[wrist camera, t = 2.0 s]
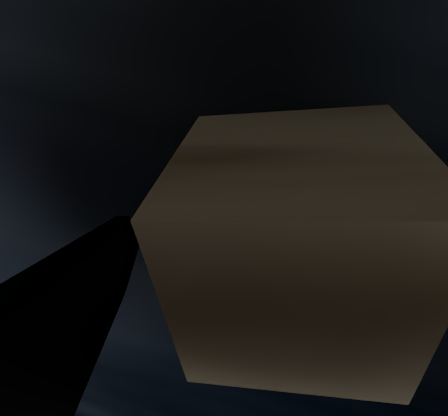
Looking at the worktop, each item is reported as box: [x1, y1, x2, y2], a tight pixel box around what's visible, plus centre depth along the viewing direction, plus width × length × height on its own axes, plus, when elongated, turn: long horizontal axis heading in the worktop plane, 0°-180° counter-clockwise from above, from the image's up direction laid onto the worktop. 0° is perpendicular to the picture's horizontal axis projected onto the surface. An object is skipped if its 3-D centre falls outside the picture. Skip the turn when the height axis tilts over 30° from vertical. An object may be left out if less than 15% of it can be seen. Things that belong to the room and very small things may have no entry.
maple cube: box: [130, 105, 448, 405], centre depth 8 cm, size 5×5×5 cm
